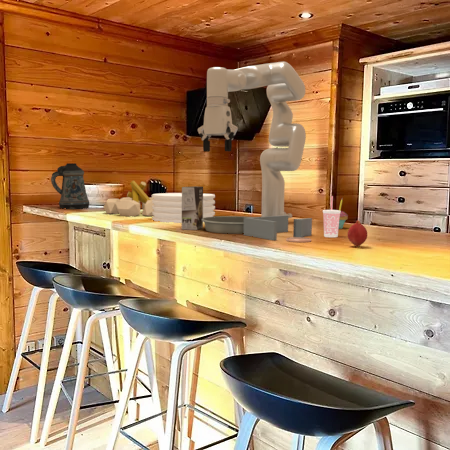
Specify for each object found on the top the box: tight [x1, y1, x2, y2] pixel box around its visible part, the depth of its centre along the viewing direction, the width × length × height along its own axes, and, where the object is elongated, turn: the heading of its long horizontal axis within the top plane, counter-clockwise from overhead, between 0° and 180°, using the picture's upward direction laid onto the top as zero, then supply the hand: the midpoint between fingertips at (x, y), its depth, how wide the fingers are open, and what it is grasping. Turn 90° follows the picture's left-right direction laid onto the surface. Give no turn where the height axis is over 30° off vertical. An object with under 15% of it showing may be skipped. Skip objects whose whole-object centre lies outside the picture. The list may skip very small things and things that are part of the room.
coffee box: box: [181, 186, 204, 231], centre depth 197 cm, size 9×6×16 cm
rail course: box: [243, 215, 313, 241], centre depth 179 cm, size 20×16×6 cm
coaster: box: [285, 236, 312, 243], centre depth 167 cm, size 8×8×1 cm
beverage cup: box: [322, 195, 342, 238], centre depth 178 cm, size 6×6×14 cm
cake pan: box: [202, 215, 250, 235], centre depth 194 cm, size 25×25×4 cm
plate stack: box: [151, 192, 216, 224], centre depth 232 cm, size 28×28×12 cm
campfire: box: [103, 180, 154, 217], centre depth 260 cm, size 35×34×17 cm
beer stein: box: [50, 162, 90, 210], centre depth 287 cm, size 16×19×25 cm
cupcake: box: [338, 197, 349, 230], centre depth 204 cm, size 9×8×12 cm
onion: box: [347, 219, 368, 248], centre depth 155 cm, size 6×6×8 cm
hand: (217, 151), depth 187 cm, fingers open, 9 cm apart
